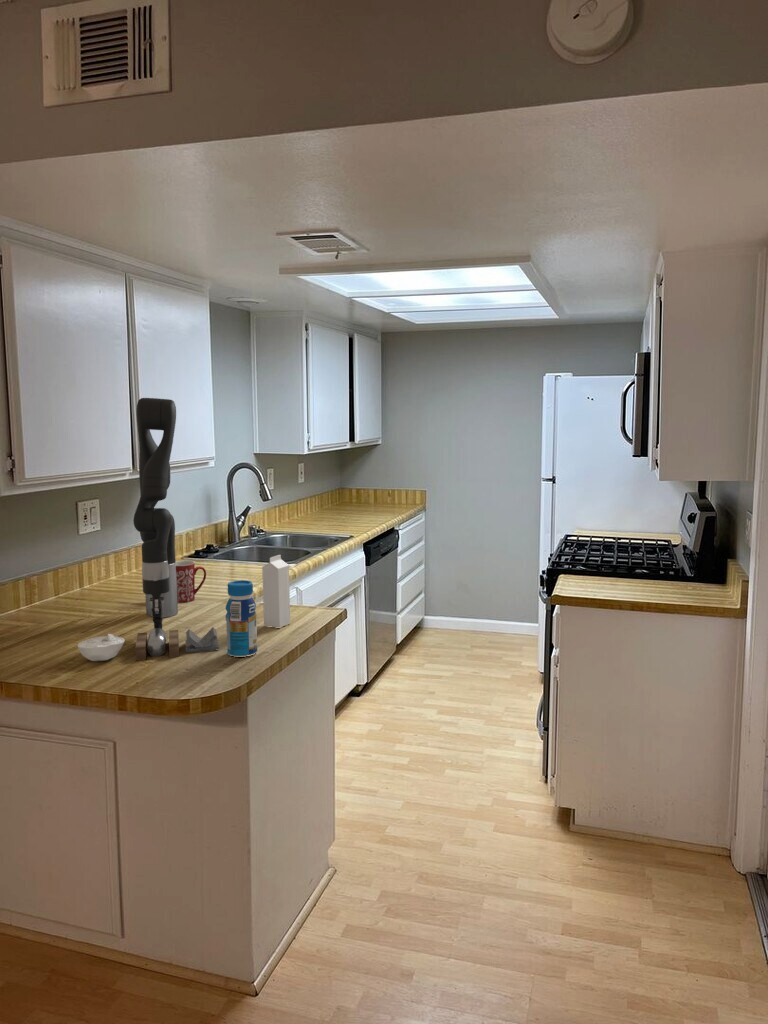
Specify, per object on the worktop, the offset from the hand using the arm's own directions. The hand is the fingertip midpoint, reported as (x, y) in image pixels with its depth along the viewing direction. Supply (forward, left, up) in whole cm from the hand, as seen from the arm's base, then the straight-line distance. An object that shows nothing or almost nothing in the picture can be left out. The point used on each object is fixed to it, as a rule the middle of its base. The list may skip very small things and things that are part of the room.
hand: (158, 633), depth 224 cm
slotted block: (+7, -9, -2) cm, 11 cm away
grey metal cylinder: (+6, -8, -2) cm, 11 cm away
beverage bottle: (+31, -4, -2) cm, 31 cm away
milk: (+27, +24, -2) cm, 36 cm away
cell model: (-3, -20, -2) cm, 21 cm away
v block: (+16, -2, -2) cm, 17 cm away
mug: (-18, +43, -2) cm, 46 cm away
